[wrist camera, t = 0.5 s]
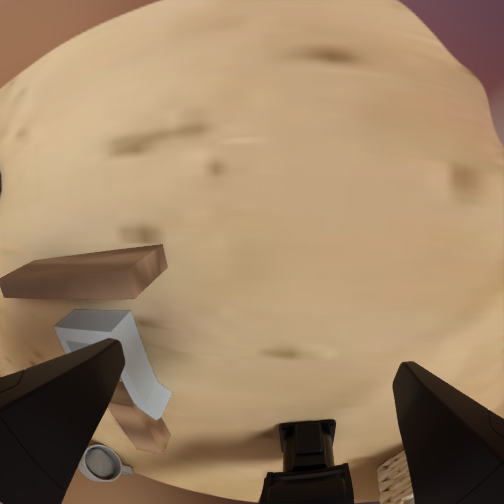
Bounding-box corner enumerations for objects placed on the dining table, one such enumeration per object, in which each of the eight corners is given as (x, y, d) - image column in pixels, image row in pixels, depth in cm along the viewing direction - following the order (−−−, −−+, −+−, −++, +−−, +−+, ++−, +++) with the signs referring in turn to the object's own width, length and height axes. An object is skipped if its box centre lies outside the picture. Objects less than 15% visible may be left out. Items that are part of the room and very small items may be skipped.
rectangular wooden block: (171, 433, 30) (163, 455, 26) (146, 429, 31) (137, 449, 27) (145, 384, 27) (132, 407, 24) (118, 380, 28) (104, 401, 24)
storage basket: (365, 467, 30) (376, 541, 16) (449, 408, 25) (485, 486, 11) (429, 477, 32) (442, 526, 18) (490, 430, 27) (514, 480, 13)
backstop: (167, 267, 22) (134, 298, 17) (38, 277, 25) (4, 297, 19) (162, 244, 22) (126, 270, 16) (33, 260, 24) (-2, 279, 18)
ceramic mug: (83, 443, 36) (69, 469, 29) (93, 436, 34) (77, 465, 27) (126, 471, 38) (115, 497, 31) (141, 466, 36) (129, 496, 28)
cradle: (174, 396, 27) (162, 421, 23) (102, 385, 28) (87, 405, 25) (142, 310, 24) (122, 332, 20) (67, 309, 25) (46, 325, 21)
